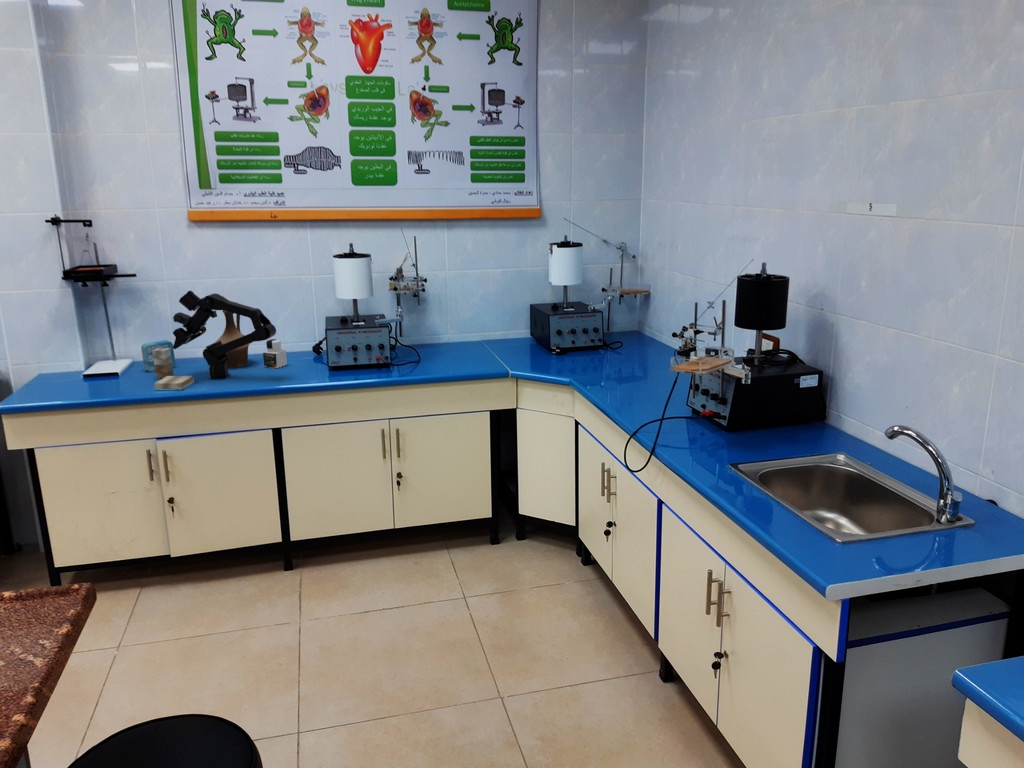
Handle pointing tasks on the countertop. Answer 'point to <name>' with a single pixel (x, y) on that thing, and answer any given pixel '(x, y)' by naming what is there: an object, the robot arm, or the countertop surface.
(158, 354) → the gray square block
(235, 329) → the pitcher
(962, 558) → the countertop surface
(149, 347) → the data package
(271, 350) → the medicine bottle
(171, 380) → the beige square block
